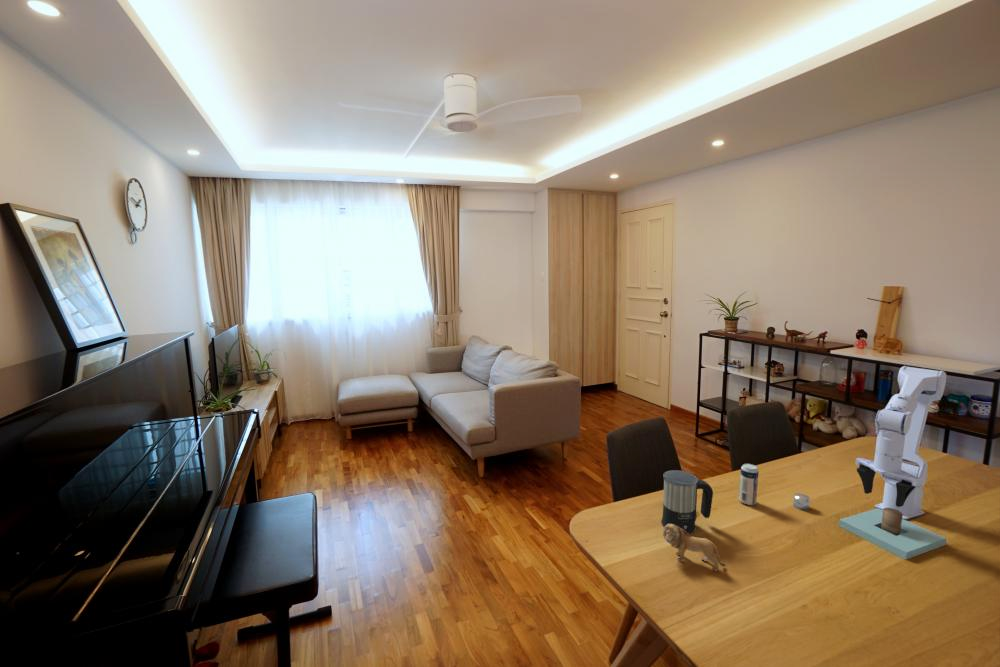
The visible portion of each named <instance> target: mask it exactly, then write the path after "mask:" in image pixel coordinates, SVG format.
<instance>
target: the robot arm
mask: <svg viewBox="0 0 1000 667" xmlns="http://www.w3.org/2000/svg"><path fill="white" fill-rule="evenodd" d="M897 383H898V387H899V390H900V391H899V393H896V394H894V395H892V396H891V397H890V399H889V401H888V403H887V404H886V406H885V407H884V408H883V409H879V410H877V413H876V415H875V420H874V425H875V435H876V443H875V450H874V459H873V460H870V459H866V458H864V457H858V458H855V463H854V464H855V465H856V466H857V467H856V472H857V474H858V475H859V478H860V479H861V480H860V481H861V483H862V486H863V492H864V494H865V495H868V494H871V493H872V491H873V487H874V478H875V476H876V473H878V474H879V475H880V476H881V477H882V478H883V481H884V482H885V483H884V488H883V489H884V490H883V495H882V496H883V497H882V502H880V503H877V504H875V505H874V506H875V508H879V509H881V510H883V509H884V508H892V509H895V510H898V511H900V512H901V513H902V514H903V516H902V519H904V520H908V519H911V518H914V517H918V516H921V515H924V514H925V511H923V510H922V504H923V495H924V491H923V487H925V484H926V482H927V478H928V468H929V466H928V465H929V464H928V462H927V461H926V460H925V459H924V458H923V457H922V456H921V455H919V449H920V445H921V442H922V438H923V433H924V430H925V426H926V422H927V418H928V414H929V410H930V407H931V405H932V403H933V402H937V401H941V399H942V397H943V395H944V392H945V387H946V384H947V373H946V372H945V371H944V370H935V369H927V368H919V367H912V366H907V365H904V366H901V367H900V368H899V371H898V374H897Z"/></svg>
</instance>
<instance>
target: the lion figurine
mask: <svg viewBox="0 0 1000 667" xmlns="http://www.w3.org/2000/svg"><path fill="white" fill-rule="evenodd" d="M662 536H663V538H664V540H665V541H666V542H667V543H668V544H670V545H671V547H672V548H674V549H677V550H678V551H675V555H676V556H678V555H680V556H679V557H677V559H676V560H677V562H679V563H683V562H684V559H685V552H686V550H688V551H691V552H694V553H698V552H703V554H704V556H705V557H703V556H702V557H701V561H702V560H704V561H706V562H708V561H709V562H711V563H712V565H714V566H712V567H711V569H712V571H713V570H716V571H715V572H718V571H719V565H720V566H722V567H726V564H725V563H724V562H721V559H720V558H721V557H720V555H719V554H720V553H719V551H718V550H719V549H718V548H717V546H716V545H715V543H713V541H711V540H710V539H708V538H706V537H695V536H692V535H690V533H689V534H688V533H687V532H686V531H685V530H683V529H682V528H680V527H679V526H677V525H675V524H667V525H666V526H663V533H662ZM714 553H715V555H714ZM715 557H716V558H715ZM716 559H717V560H716ZM704 561H703V562H704Z"/></svg>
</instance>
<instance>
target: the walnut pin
mask: <svg viewBox="0 0 1000 667" xmlns="http://www.w3.org/2000/svg"><path fill="white" fill-rule="evenodd" d="M902 516H903V514H902V513H901V512H900V511H898V510H895V509H892V508H884V509H883V515H882V523H881V529H883V530H885V531H887V532H889V533H891V534H893V535H895V536H898V535H900V531H901V523H902V519H903V518H902Z"/></svg>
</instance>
